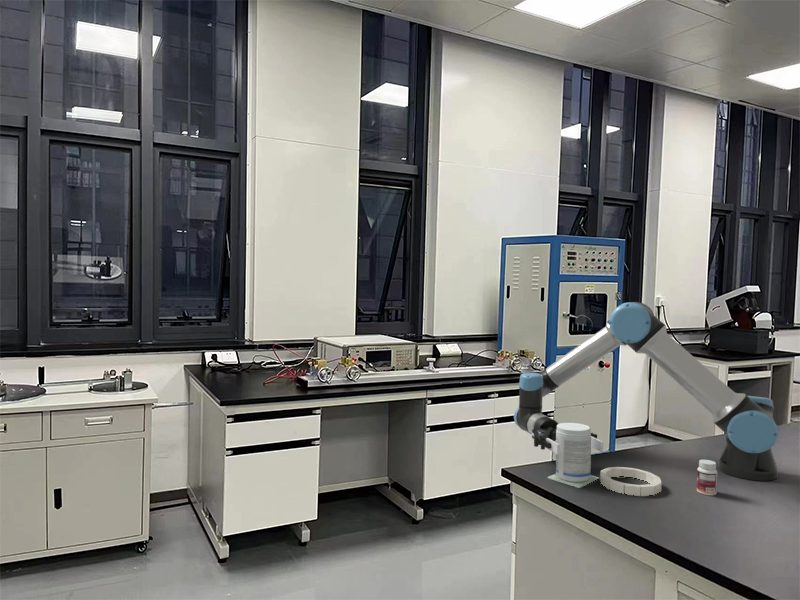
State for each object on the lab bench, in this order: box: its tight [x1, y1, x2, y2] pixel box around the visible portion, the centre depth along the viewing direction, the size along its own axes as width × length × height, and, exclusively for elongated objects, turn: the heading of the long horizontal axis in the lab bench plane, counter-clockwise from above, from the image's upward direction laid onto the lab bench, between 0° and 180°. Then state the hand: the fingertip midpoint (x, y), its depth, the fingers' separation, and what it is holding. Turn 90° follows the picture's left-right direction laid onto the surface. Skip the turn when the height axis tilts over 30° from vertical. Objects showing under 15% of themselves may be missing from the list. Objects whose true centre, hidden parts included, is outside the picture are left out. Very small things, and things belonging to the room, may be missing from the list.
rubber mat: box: [547, 473, 600, 489], centre depth 161 cm, size 10×11×1 cm
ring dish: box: [599, 466, 663, 497], centre depth 157 cm, size 16×16×2 cm
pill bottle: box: [696, 459, 718, 496], centre depth 152 cm, size 5×5×8 cm
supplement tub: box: [555, 422, 592, 482], centre depth 161 cm, size 10×10×15 cm
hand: (580, 448), depth 158 cm, fingers open, 13 cm apart
